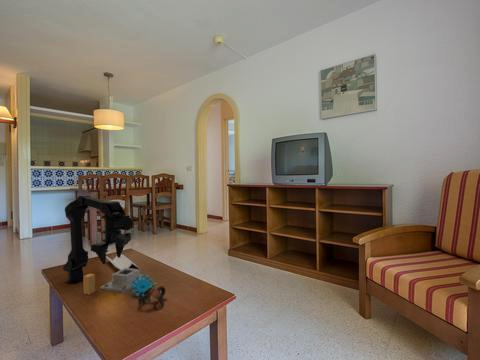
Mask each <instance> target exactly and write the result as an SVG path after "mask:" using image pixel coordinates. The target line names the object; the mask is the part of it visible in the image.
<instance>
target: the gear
mask: <svg viewBox="0 0 480 360" xmlns="http://www.w3.org/2000/svg"><path fill="white" fill-rule="evenodd" d="M144 275H145V274H143V275H141V280H138V279H139V276H138V277H136V279H137V283H136V282H135V280H133V281H132V283H134V284H135V285H136V286H134V285H131V288H132V291H131V294H135V293H136V294H135V296H136V297H137V298H138V297H139V296H140V295H141V294H142V296H143V295H144V292H145V291H146V290H148V289H149V288H151V287H155V286H157V282H153V281H154V279H153V278H150V275H149V276H147V277H146V278H145V279H142V278H144ZM152 282H153V283H152ZM135 289H136V290H135Z"/></svg>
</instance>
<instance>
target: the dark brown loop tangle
mask: <svg viewBox="0 0 480 360" xmlns="http://www.w3.org/2000/svg"><path fill="white" fill-rule="evenodd" d="M154 287H155V286H154ZM154 287H151V288H149V289H148V290H146V291H145V292H144V295H143V296H142V294H143V293H140V294H139V296H138V297H137V302H138V303H137V304H138V305H141V306H144V304H146V302H149V303H150V302H151V301H152V300H151V296H152V297H153V299H157V300H158V302H157V304H156V305H155V307H156V309H157V311H158V310H160V309H162V307H164V304H165V302H164V298H163V297H164V296H165V294H166V288H165V286H164V285H161V286H158V287H157V288H154Z"/></svg>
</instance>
